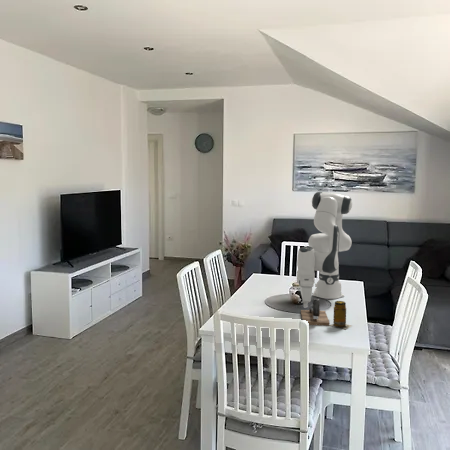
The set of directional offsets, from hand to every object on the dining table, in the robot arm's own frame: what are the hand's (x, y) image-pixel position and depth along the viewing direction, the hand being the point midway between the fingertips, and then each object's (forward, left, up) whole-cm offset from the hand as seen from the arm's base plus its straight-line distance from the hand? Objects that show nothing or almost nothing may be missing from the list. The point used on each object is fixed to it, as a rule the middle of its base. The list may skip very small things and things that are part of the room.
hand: (305, 306), depth 230 cm
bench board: (-7, +5, -9) cm, 12 cm away
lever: (-7, +5, -7) cm, 11 cm away
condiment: (+3, +18, -9) cm, 20 cm away
